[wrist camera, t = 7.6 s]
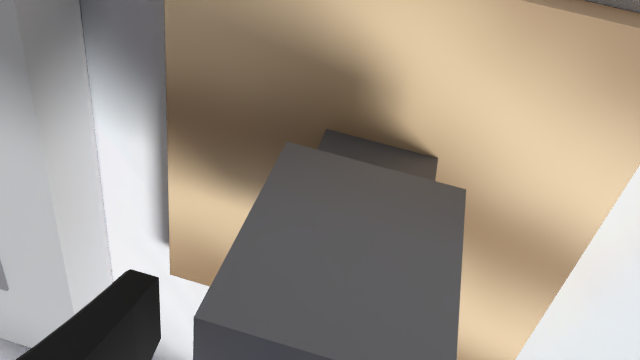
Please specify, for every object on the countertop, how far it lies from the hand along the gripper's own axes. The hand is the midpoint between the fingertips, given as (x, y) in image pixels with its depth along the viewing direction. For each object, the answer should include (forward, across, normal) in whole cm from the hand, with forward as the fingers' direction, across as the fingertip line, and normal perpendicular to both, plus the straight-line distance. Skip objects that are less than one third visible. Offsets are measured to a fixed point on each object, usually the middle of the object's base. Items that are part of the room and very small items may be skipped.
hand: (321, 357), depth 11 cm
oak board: (+7, 0, 0) cm, 7 cm away
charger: (+6, 0, 0) cm, 6 cm away
